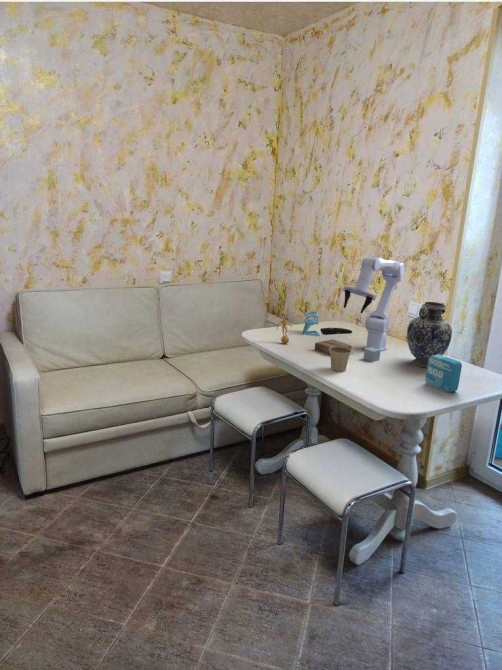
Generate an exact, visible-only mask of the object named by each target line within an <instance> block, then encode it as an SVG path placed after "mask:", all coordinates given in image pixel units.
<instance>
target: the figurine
mask: <svg viewBox="0 0 502 670" xmlns="http://www.w3.org/2000/svg"><path fill="white" fill-rule="evenodd" d="M279 324H282V326H281V329H282V336H281V339H280V341H281V343H282V344H288V343H289V342H290V338H289V336H288V334H287V332H288V325H287V324H289V326H290V327H291V328H293V326H292V324H291V323H290V322H289V321H288V320H286V319H285V318H284V319H282V320H280V321H279V322H278V323H277V327H276V330H278V329H279Z"/></svg>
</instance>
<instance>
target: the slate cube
mask: <svg viewBox="0 0 502 670" xmlns="http://www.w3.org/2000/svg"><path fill="white" fill-rule="evenodd" d="M380 357H381V351H380V350H379V349H376V348H372V347H370V348H366V349H364V351H363V360H365V361H368V362H371V363H374V362H377V361H380Z"/></svg>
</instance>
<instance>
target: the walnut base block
mask: <svg viewBox="0 0 502 670" xmlns="http://www.w3.org/2000/svg"><path fill="white" fill-rule="evenodd" d="M331 347H344V348H348V349H350V350H351V351H352V345H350V344H347V343H345V342H342V341H339V340H335V339H332V338H331V339H327V340H323V341H318V342H317V341H316V342H315V343H314V351H317V352H319V353H322V354H325V355H328V356H330V351H329V348H331Z"/></svg>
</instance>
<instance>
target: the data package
mask: <svg viewBox="0 0 502 670" xmlns="http://www.w3.org/2000/svg"><path fill="white" fill-rule="evenodd" d="M462 368H463V365H462V362H461V361H460V360H456V359H454V358H450V357H448V356H445V355H432V356H430V357H429V360H428V366H427V368H426V373H425V383H426V384H427V385H428V384H429V385H428V386H430V385H431V387H433V388H435V387H436V388H435V389H438V390H440V389H441V390H440V391H442V390H443V392H445V391H446V392H445V393H451V392H456V391H457V390H458V388H459V386H460V379H461V374H462Z"/></svg>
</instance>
